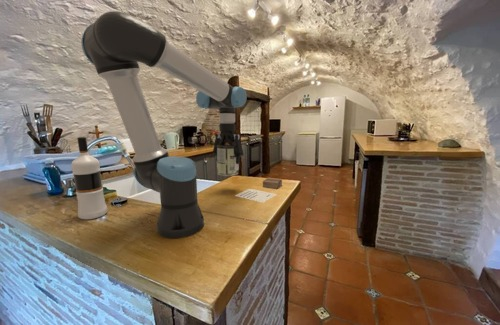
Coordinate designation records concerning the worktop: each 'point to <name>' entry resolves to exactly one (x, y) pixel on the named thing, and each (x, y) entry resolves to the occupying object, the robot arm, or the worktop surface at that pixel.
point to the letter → (256, 195)
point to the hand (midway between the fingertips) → (227, 169)
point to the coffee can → (226, 160)
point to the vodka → (88, 184)
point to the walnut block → (272, 183)
